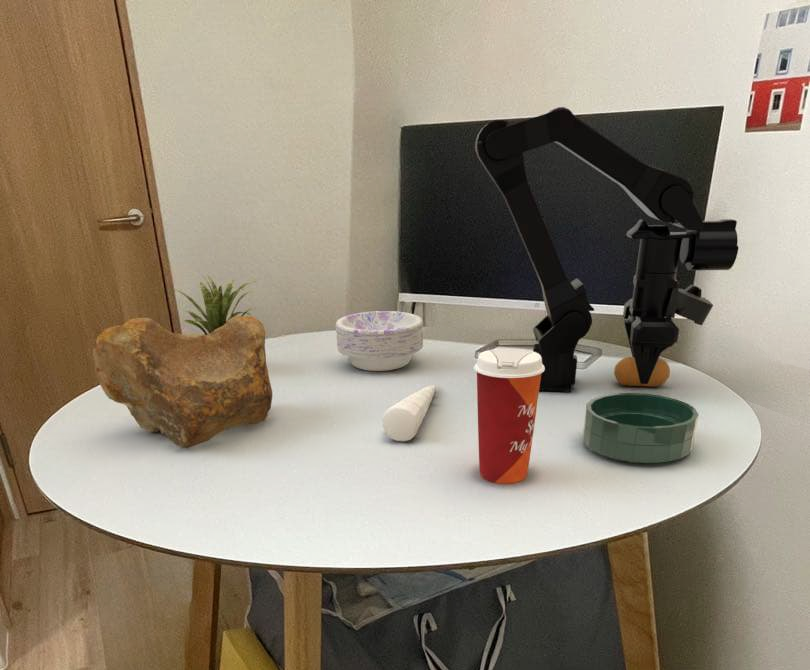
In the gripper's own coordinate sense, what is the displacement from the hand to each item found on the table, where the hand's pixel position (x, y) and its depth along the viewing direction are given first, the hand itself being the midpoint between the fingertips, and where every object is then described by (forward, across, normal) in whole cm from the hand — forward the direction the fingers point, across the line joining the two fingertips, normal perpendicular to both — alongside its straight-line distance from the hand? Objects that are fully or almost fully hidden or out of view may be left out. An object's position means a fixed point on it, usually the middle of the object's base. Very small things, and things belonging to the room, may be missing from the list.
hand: (641, 375), depth 111 cm
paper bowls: (+2, +7, +44) cm, 44 cm away
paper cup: (+2, -38, +19) cm, 42 cm away
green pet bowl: (+2, -27, +3) cm, 27 cm away
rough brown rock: (+2, -30, +61) cm, 68 cm away
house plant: (+2, -1, +69) cm, 69 cm away
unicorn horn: (+2, -19, +33) cm, 38 cm away
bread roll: (+2, 0, 0) cm, 2 cm away
